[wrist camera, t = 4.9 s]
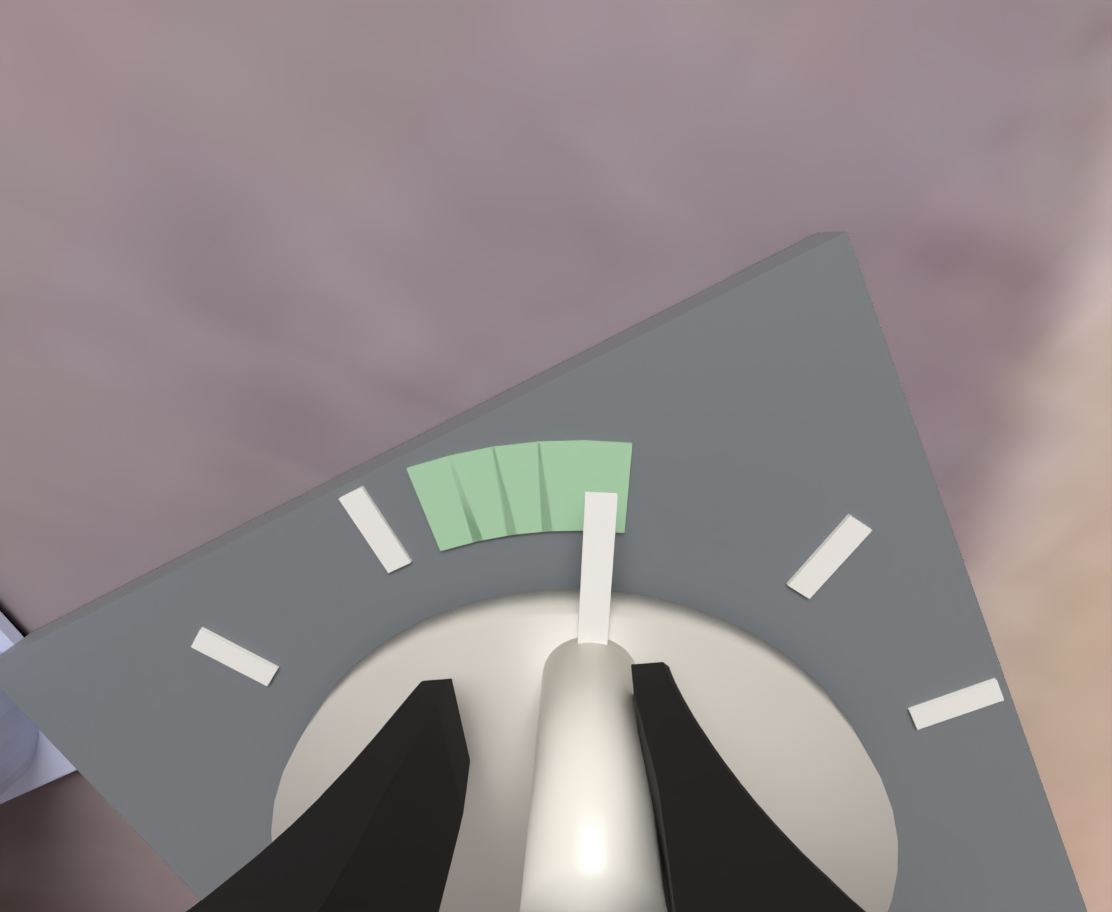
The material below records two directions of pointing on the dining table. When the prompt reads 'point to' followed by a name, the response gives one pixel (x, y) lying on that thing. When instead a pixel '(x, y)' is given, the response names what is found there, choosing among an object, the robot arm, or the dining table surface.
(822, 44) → the dining table surface
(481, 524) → the tuner board
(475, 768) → the beige oval dome
